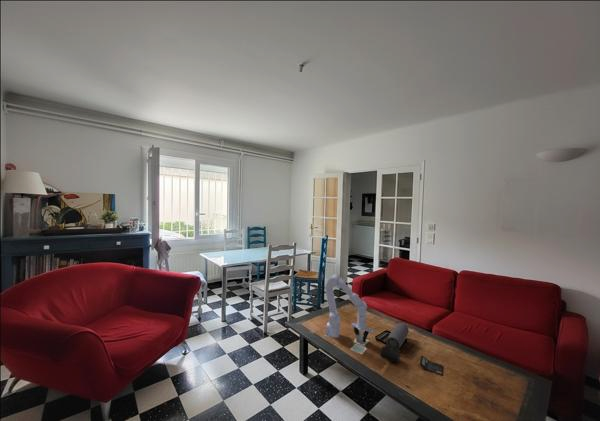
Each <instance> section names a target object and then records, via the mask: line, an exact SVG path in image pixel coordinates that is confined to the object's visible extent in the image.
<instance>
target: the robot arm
mask: <svg viewBox="0 0 600 421" xmlns="http://www.w3.org/2000/svg"><path fill="white" fill-rule="evenodd" d="M326 281H327V282H326V284H325V289H324V290H325V295H326V299H327V304H328V309H329V310H328V311H329V317H328V318H329V320H328V322H327V323H326V325H325V336H324V337H326V338H330V337H331V338H334V339H337V338H339V337H340V334H341V324H340V323H341V322H340V321H341V315H340V313H339V311H338V309H337V303H336V299H335V294H334V289H333V288H334V287H336V288H340V289H341V290H342V291H344V293H346V295H347V296H349V298H348V299H349V300H350V301H351V303H352V304H353V306H355V307H356V308H357V309H356V310H357V320H356V321H357V322H356V323H353V322H351V324H350V327H351V328H353V332H354V334H355V336H356V335H357V334H358V333H359V332H360V331H361V332H364V333H363V334H364V342H365V341H366V340H367V338H368V335H369V334H370V335H371V334H373V329H372V328H370V327H368V326H367V308H368V305H367V303H366V301H364V300H362V299H361V298H360V297H359V296H360V295H359V294H357V293H356V292H353V291H352V290H351V288H349V286H348V285H347V283H345V281H344V279H343V278H342V277H341V275H339V274H337V273H334V274H331V276H330V277H329V279H328V280H326Z"/></svg>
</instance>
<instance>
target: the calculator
mask: <svg viewBox="0 0 600 421" xmlns="http://www.w3.org/2000/svg"><path fill="white" fill-rule="evenodd" d="M419 366H421V367H422V368H423V369H424V370H425V371H427V372H430V373H433V374H436V375H439V376H443V371H444V370H443V368H444V365H443V364H440V363H437V362H435V361H431V360H428V359H427V357H425V356H424V355H422V354H421V355H420V360H419Z"/></svg>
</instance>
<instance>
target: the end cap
mask: <svg viewBox="0 0 600 421" xmlns="http://www.w3.org/2000/svg"><path fill="white" fill-rule="evenodd" d="M380 357H382V358H384V359H387V360H389V361H390V362H393V363H395V364H399V363H400V358H401V350H400V348H399V349H396V348H395V349H394V350H393V349H391V348H390V346H388V345H387V344H385V345H384V346H382V347H381V350H380Z"/></svg>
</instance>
